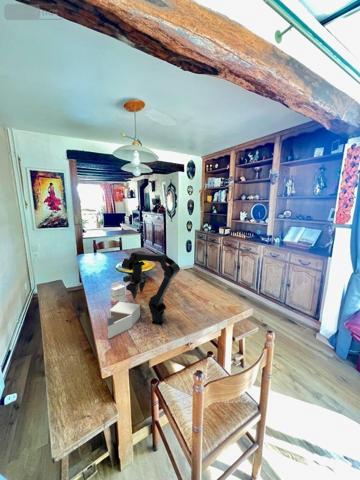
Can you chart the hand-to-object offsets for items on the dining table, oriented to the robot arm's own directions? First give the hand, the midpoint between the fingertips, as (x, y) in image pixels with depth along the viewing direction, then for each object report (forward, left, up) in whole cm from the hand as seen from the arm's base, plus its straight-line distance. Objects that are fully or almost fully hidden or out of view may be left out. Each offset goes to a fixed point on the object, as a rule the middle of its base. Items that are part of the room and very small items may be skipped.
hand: (137, 295), depth 126 cm
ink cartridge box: (+20, -10, -13) cm, 26 cm away
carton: (+5, +7, -13) cm, 16 cm away
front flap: (+1, +20, -13) cm, 23 cm away
